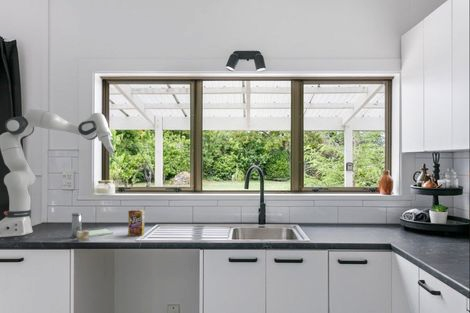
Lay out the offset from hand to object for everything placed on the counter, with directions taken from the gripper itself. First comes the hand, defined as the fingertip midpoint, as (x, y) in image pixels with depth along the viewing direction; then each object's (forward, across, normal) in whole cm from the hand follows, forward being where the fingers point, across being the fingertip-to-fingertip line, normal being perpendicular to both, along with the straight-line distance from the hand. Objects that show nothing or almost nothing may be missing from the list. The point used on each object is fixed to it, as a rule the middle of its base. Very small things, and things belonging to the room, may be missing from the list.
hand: (112, 155), depth 217 cm
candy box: (+54, +13, -3) cm, 55 cm away
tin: (+41, +11, -34) cm, 55 cm away
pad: (+44, +3, -24) cm, 50 cm away
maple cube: (+44, +20, -30) cm, 57 cm away
